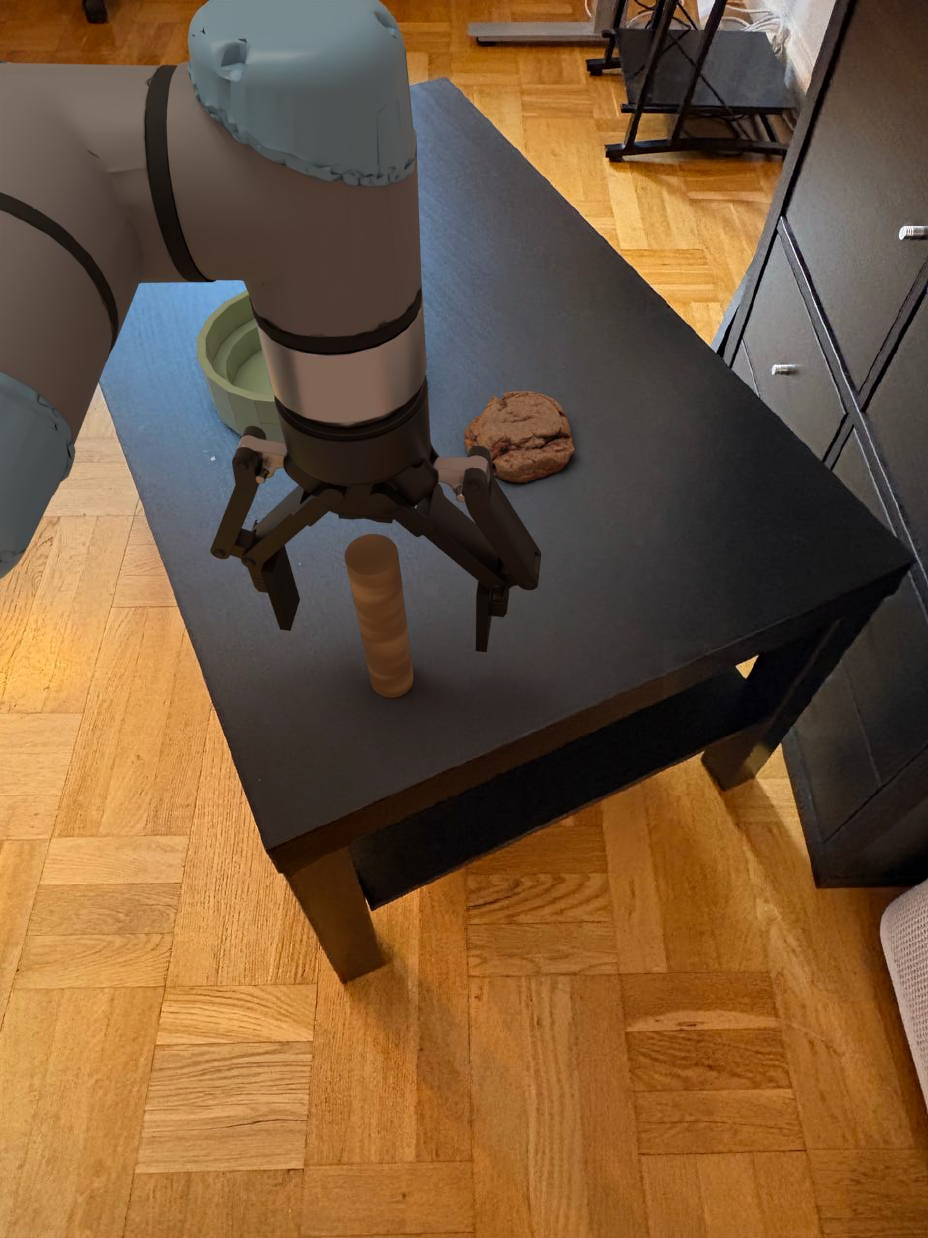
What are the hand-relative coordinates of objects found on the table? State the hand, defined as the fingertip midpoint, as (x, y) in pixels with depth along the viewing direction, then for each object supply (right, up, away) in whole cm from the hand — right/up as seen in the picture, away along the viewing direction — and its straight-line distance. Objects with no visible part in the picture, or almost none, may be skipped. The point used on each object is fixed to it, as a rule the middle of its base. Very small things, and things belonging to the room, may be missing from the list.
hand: (386, 625), depth 58 cm
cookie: (+10, +16, +18) cm, 27 cm away
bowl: (-10, +23, +23) cm, 34 cm away
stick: (0, -4, +4) cm, 6 cm away
